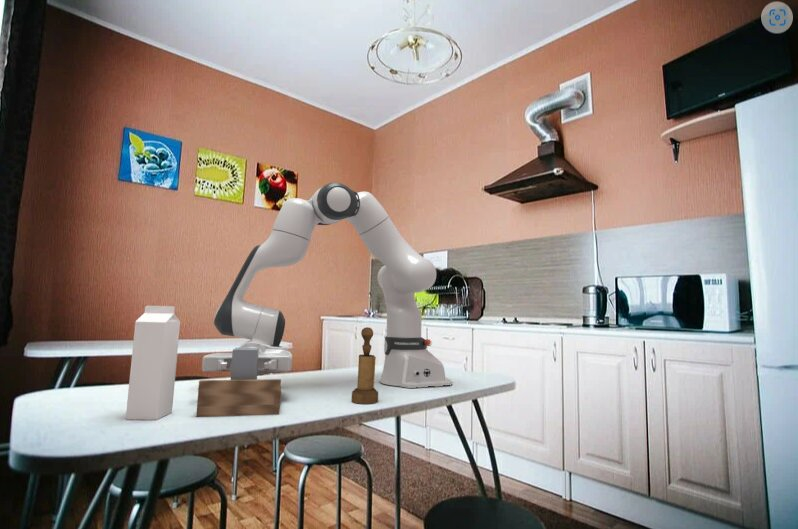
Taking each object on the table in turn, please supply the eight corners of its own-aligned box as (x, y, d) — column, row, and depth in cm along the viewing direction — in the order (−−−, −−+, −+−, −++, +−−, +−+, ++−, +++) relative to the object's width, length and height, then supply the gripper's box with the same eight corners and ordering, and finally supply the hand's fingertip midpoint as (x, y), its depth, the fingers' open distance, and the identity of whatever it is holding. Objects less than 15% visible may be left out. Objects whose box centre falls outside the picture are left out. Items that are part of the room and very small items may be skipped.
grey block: (255, 396, 92) (259, 347, 94) (253, 401, 87) (257, 349, 89) (232, 397, 91) (235, 347, 92) (228, 402, 86) (232, 349, 88)
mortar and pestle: (373, 405, 96) (376, 328, 98) (347, 403, 98) (350, 327, 100) (380, 399, 103) (383, 327, 105) (356, 397, 104) (358, 326, 106)
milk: (156, 420, 79) (167, 306, 81) (124, 420, 78) (136, 305, 81) (172, 412, 85) (182, 306, 87) (142, 411, 84) (153, 305, 87)
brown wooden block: (281, 398, 101) (282, 369, 101) (278, 414, 86) (280, 380, 86) (211, 400, 97) (213, 370, 97) (196, 416, 82) (199, 381, 83)
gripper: (208, 346, 102) (196, 352, 89) (292, 346, 107) (292, 352, 94) (206, 372, 101) (193, 381, 88) (291, 371, 106) (291, 380, 93)
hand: (245, 366), depth 91 cm, fingers open, 8 cm apart
